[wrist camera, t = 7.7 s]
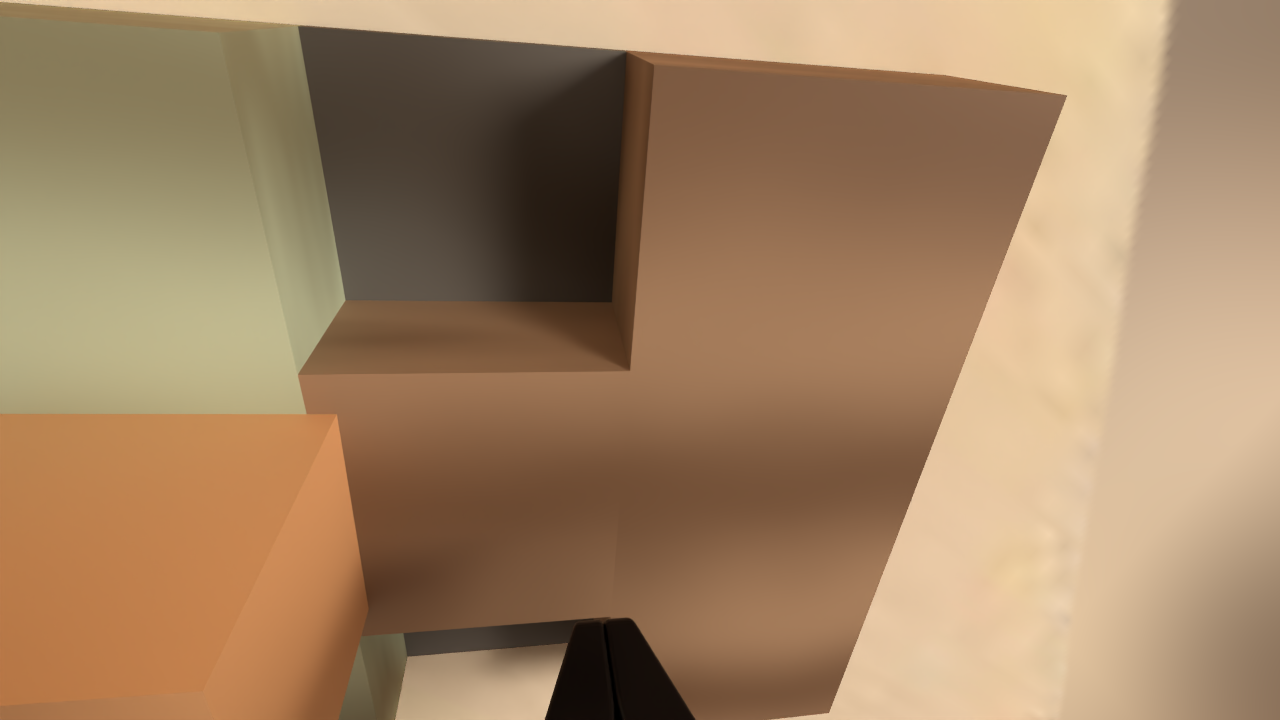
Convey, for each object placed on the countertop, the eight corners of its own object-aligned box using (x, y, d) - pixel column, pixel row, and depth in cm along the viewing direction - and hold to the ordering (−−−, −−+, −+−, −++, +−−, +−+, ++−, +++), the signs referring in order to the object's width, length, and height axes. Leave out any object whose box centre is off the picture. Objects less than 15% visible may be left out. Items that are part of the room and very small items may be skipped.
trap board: (788, 615, 19) (828, 712, 16) (165, 666, 16) (94, 794, 13) (945, 75, 11) (1066, 95, 9) (-164, -11, 8) (-466, -19, 6)
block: (368, 609, 12) (287, 904, 8) (99, 623, 11) (-140, 962, 7) (337, 414, 10) (203, 691, 6) (-3, 413, 9) (-429, 737, 5)
